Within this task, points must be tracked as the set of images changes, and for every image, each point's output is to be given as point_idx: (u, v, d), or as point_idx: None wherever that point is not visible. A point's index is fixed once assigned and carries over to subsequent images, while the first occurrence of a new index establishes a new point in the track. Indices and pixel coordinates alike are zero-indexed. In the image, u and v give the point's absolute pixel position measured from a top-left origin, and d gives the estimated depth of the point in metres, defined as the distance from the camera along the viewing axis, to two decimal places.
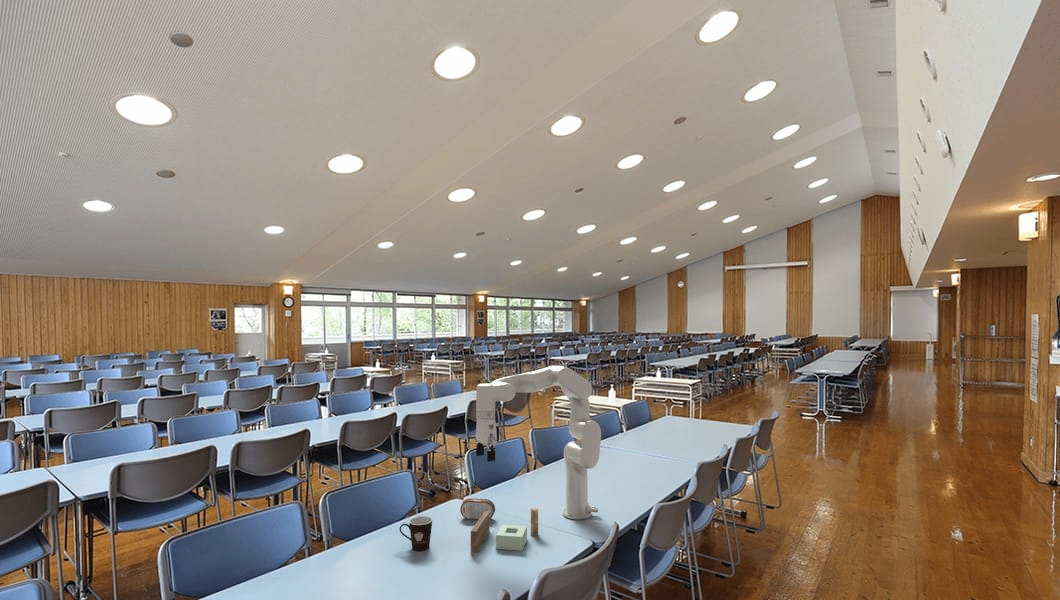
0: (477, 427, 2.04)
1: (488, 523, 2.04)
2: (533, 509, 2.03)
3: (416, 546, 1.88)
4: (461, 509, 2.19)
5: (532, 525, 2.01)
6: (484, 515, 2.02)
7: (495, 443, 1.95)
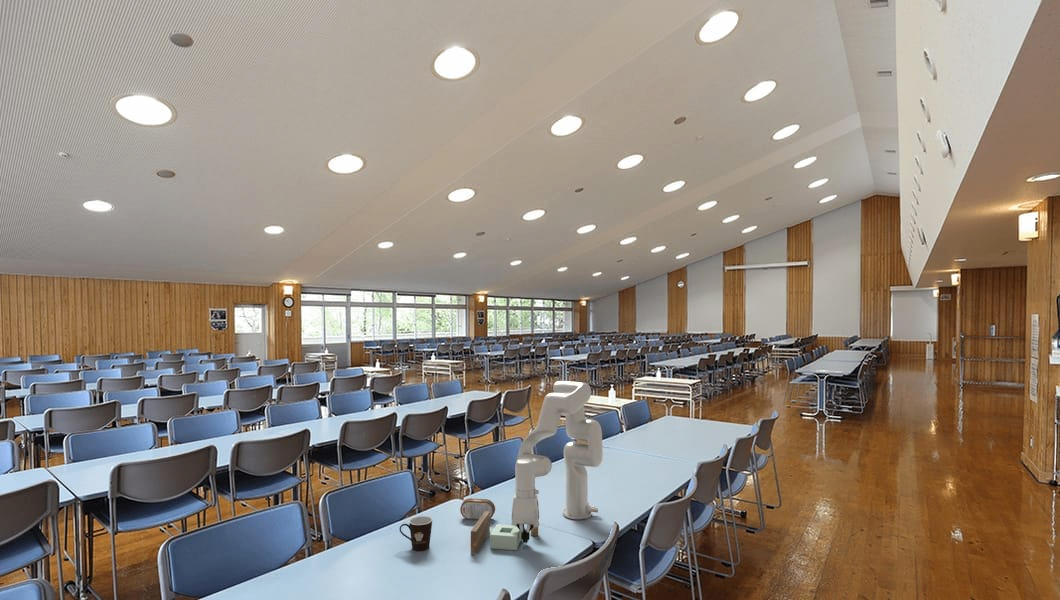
0: (517, 508, 1.92)
1: (488, 523, 2.04)
2: None
3: (416, 546, 1.88)
4: (461, 509, 2.19)
5: None
6: (484, 515, 2.02)
7: None
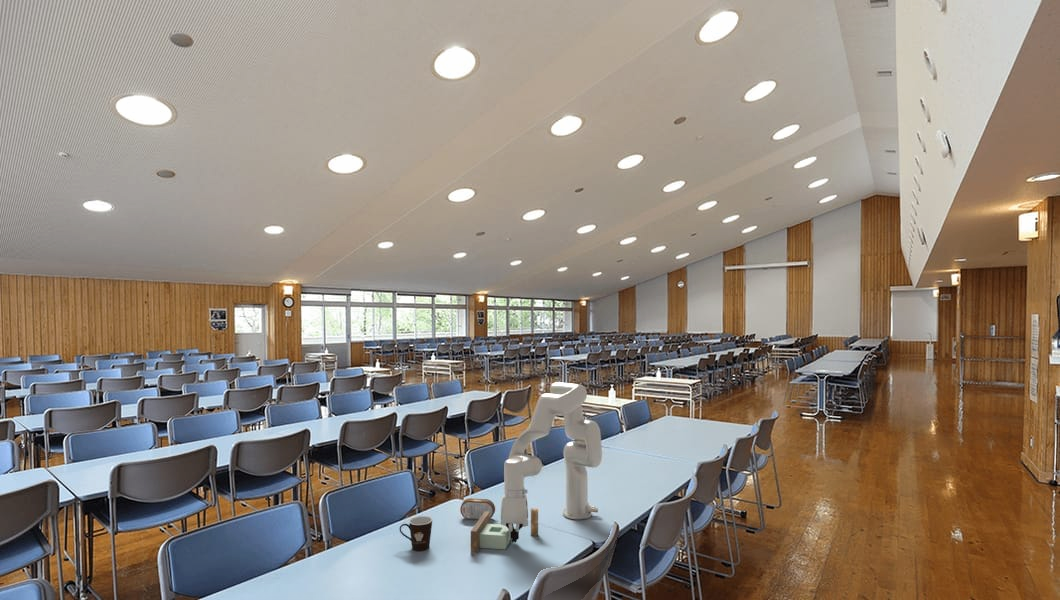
0: (506, 508, 1.92)
1: (488, 523, 2.04)
2: (533, 509, 2.03)
3: (416, 546, 1.88)
4: (461, 509, 2.19)
5: (532, 525, 2.01)
6: (484, 515, 2.02)
7: None
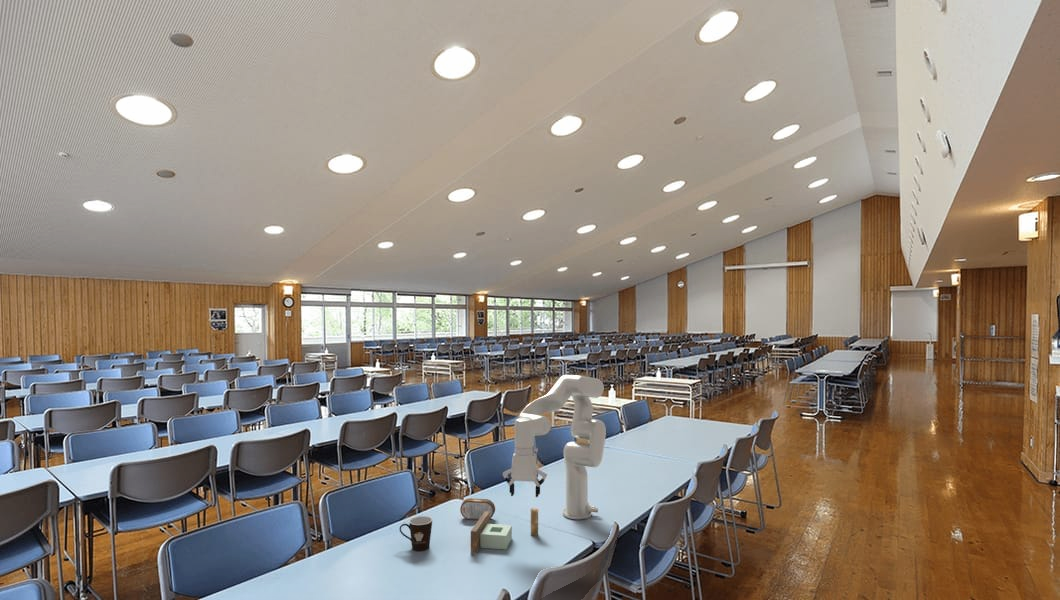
0: (516, 465, 1.94)
1: (488, 523, 2.04)
2: (533, 509, 2.03)
3: (416, 546, 1.88)
4: (461, 509, 2.19)
5: (532, 525, 2.01)
6: (484, 515, 2.02)
7: None
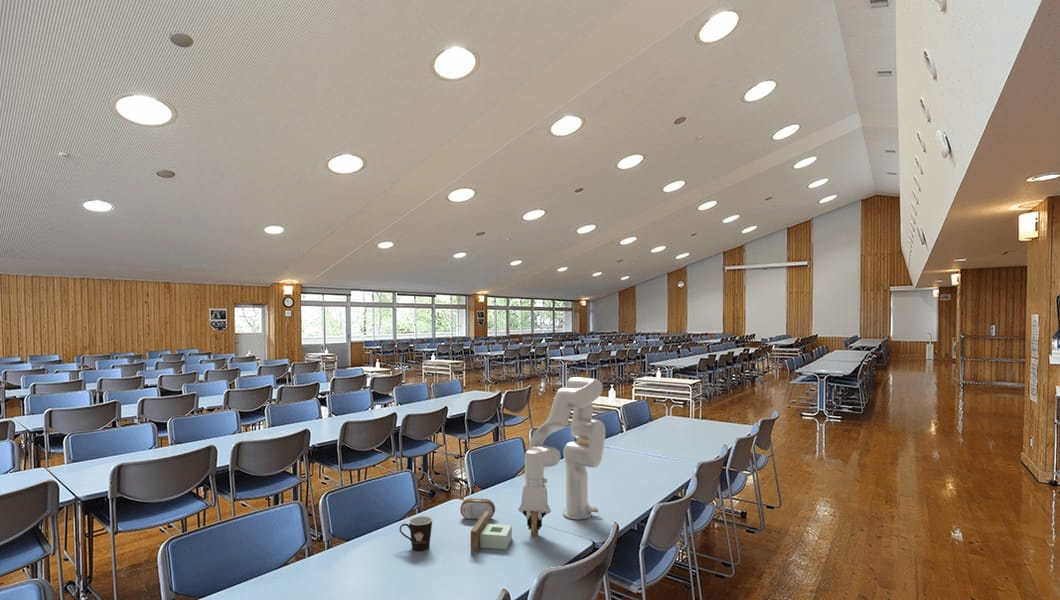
0: (526, 496, 2.01)
1: (488, 523, 2.04)
2: None
3: (416, 546, 1.88)
4: (461, 509, 2.19)
5: (532, 525, 2.01)
6: (484, 515, 2.02)
7: None
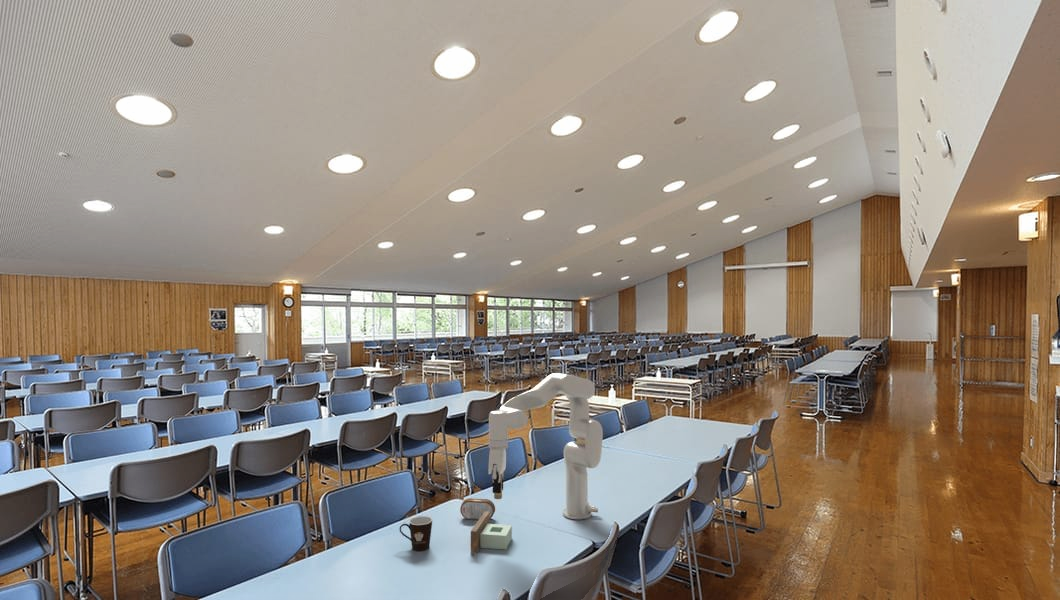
0: (502, 458, 1.94)
1: (488, 523, 2.04)
2: None
3: (416, 546, 1.88)
4: (461, 509, 2.19)
5: (501, 487, 1.95)
6: (484, 515, 2.02)
7: None
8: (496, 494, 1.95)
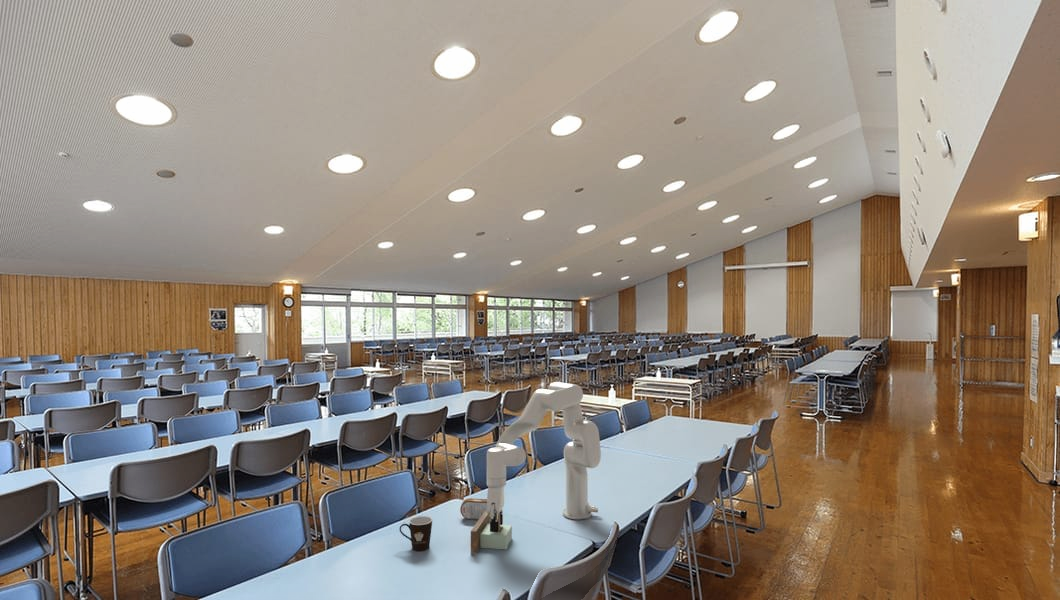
0: (500, 497, 1.93)
1: (488, 523, 2.04)
2: None
3: (416, 546, 1.88)
4: (461, 509, 2.19)
5: (499, 530, 1.94)
6: (484, 515, 2.02)
7: None
8: None
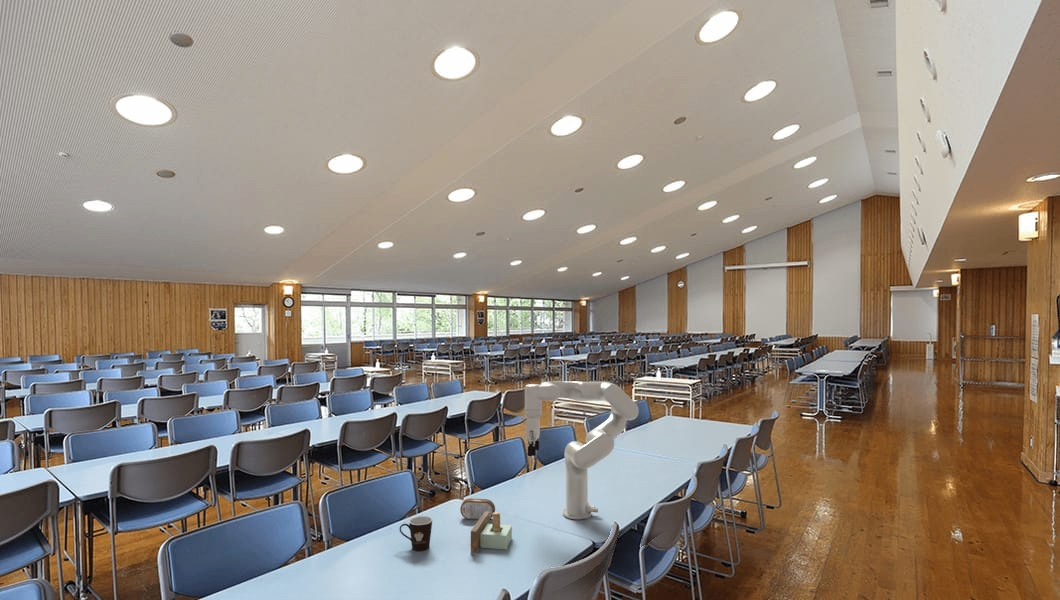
0: (537, 426, 2.18)
1: (488, 523, 2.04)
2: (496, 513, 1.95)
3: (416, 546, 1.88)
4: (461, 509, 2.19)
5: (499, 529, 1.94)
6: (484, 515, 2.02)
7: None
8: None
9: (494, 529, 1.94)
